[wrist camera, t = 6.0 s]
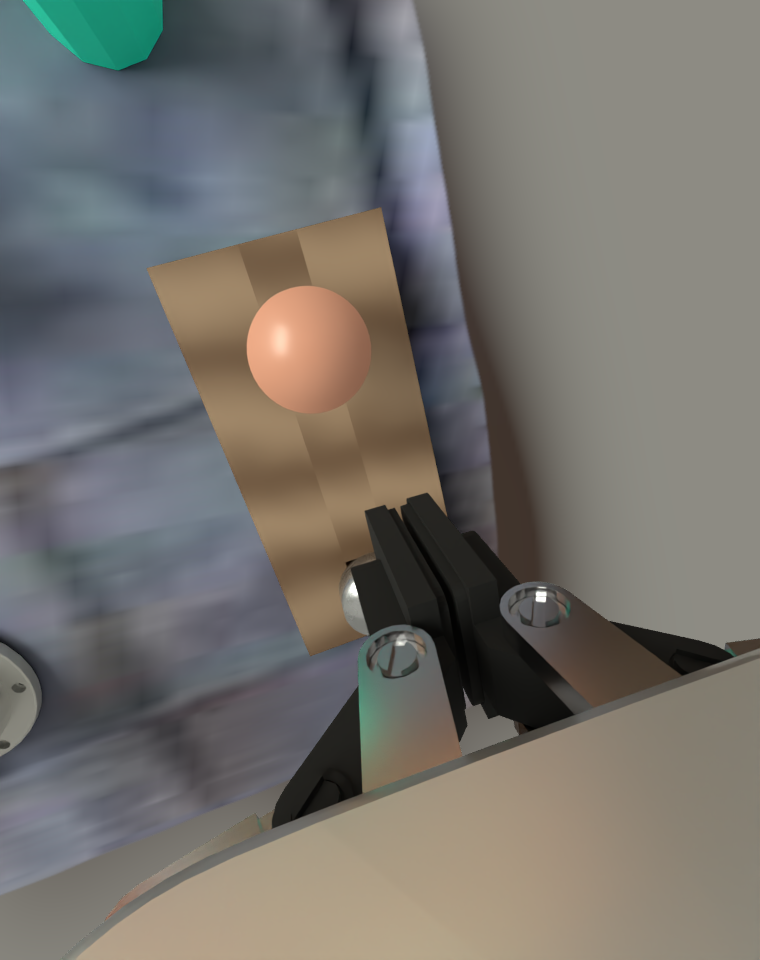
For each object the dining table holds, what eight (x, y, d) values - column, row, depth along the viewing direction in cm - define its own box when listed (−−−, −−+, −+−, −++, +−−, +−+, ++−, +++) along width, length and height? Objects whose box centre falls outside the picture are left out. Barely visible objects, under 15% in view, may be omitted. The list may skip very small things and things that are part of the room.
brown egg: (354, 369, 26) (383, 394, 20) (270, 395, 26) (271, 428, 19) (329, 277, 24) (353, 270, 18) (237, 302, 24) (227, 305, 17)
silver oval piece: (399, 561, 36) (429, 619, 30) (339, 582, 36) (355, 646, 29) (384, 507, 34) (412, 556, 28) (320, 529, 33) (333, 585, 27)
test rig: (441, 563, 39) (464, 599, 34) (304, 612, 37) (310, 656, 33) (362, 221, 28) (380, 207, 23) (166, 273, 27) (146, 268, 22)
